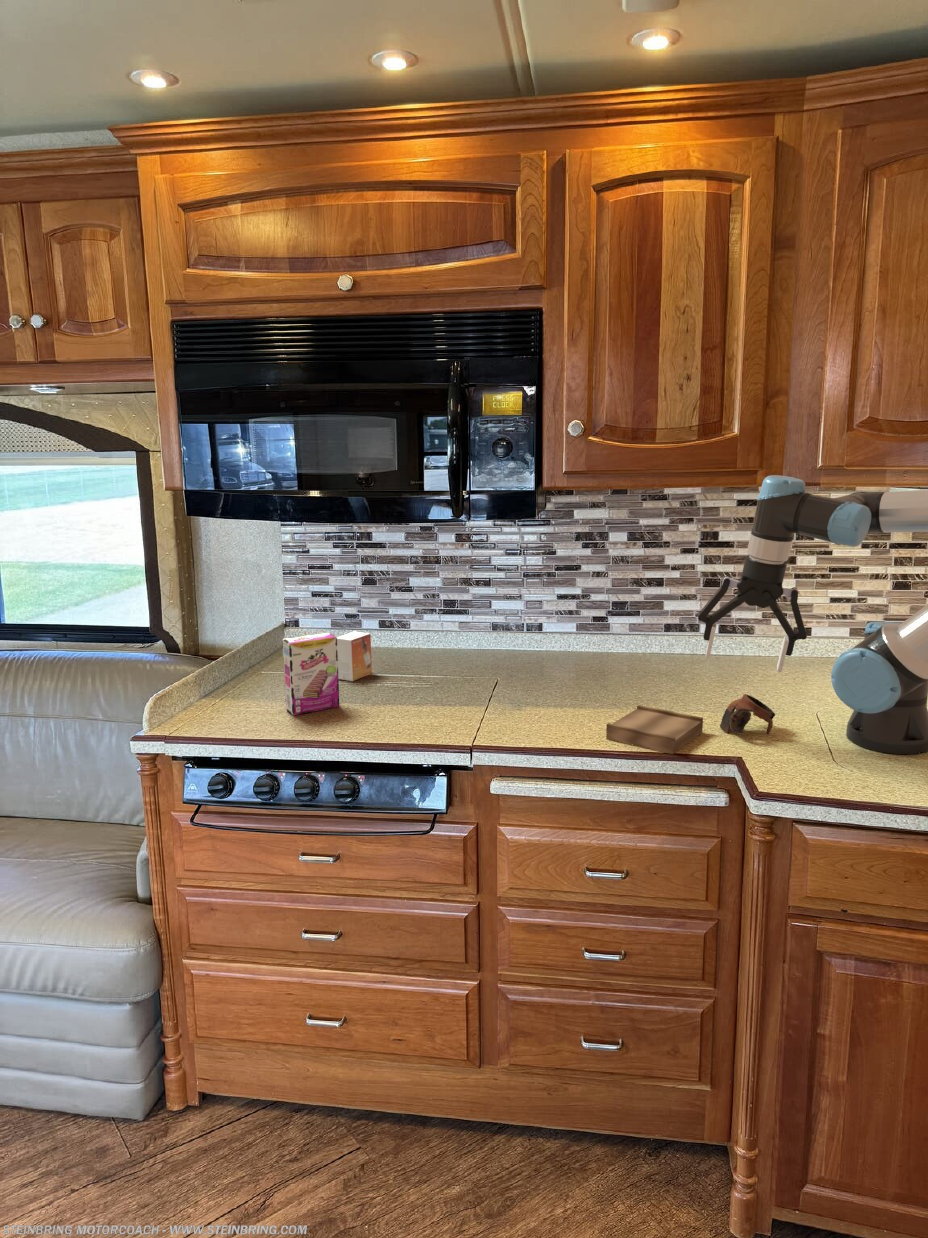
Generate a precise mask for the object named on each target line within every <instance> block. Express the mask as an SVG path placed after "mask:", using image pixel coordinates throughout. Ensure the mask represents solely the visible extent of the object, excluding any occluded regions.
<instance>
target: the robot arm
mask: <svg viewBox="0 0 928 1238" xmlns="http://www.w3.org/2000/svg"><path fill="white" fill-rule="evenodd" d="M756 500H757V503H756V506H755V507H756V508H755V513H754V518H753V523H752V528H751V532H750V536H749V541H748V545H747V550H746V554H747V556H745V558H744V564H743V566H742V567H743V569H742V571H741V572H742V573H741V576H740V578H739V579H738V580H737V579H735V578H731V576H729V575H725V576H724V577H723V579H722V582H721V585H720V586H719V588H718V589H717V590H716V591H715V593H714V594H713V595H712V596H711V598H710V599H709V600H708V601H707V602H706V604H704V606H703V607H702V608H701V610H700V611H699V612H698V613H697V615H698V616H697V620H698V621H701V622H703V623H704V624H705V628H704V632H703V640H704V641H708V642H707V647H706V651H705V659H710V658H711V654H712V648H713V644H714V639H715V634H716V629H717V622H718V621H719V620H721V619H723V618H724V617H725V616H727V615H728V614H729V613H731V612H732V611H733V610H735V609H736V608H737V607H740V606H741V605H743V604H744V603H745V604H746V605H747V606H749V607H750V606H751V607H753V606H754V607H755V606H756V607H758V608H762V609H765V608H768V607H770V610H771V611H772V612H773V614H774V615H775V617H776V619H777V621H779V622H778V623H779V624H780V626H781V627H782V629H783V631H784V632H785V634H786V635H784V636H783V639H782V644H781V647H780V652H779V657H778V661H777V664H776V671H777V672H778V673H782V672H783V669H784V668H783V667H784V663H785V659H786V656H789V657H791V656H792V655H793V651H794V647H795V643H796V641H798V640H804V641H805V640H806V639H807V637H808V636H807V632H806V628H805V625H804V622H803V617H802V614H801V610H800V608H799V603H798V600H799V591H798V589H797V587H794V586H793V587H791V588H787V587H786V588H784V586H783V582H784V578H785V573H786V570H787V563H786V562H787V561H788V560H789V557H790V552H791V549H792V544H793V540H794V534H797V535H798V536H799V535H800V536H805V537H809V538H813V539H817V540H820V541H825V542H828V543H832V544H834V545H837V546H842V545H843V546H848V547H851V548H852V547H853V548H854V547H858V546H860V545H861V544H862V542H863V541H865V539H866V537H867V535H868V534H884V533H885V534H886V533H928V489H921V490H901V491H896V490H895V491H884V492H880V491H879V492H868V491H855V492H852V493H850V494H847V495H843V496H839V497H838V496H837V497H827V496H824V495H823V496H822V495H817V494H812V493H809V492H806V483H805V480H803V479H801V478H797V477H792V476H788V475H779V474H777V475H776V474H773V475H772V474H771V475H768V476H766V477H764V479H763V481H762V484H761V488H760V490H759V494H758V497H757V498H756ZM735 587H736V588H737V590H738V592H739V593H738V594H736V595H735V596H734V597H733V598H731V599H730V600H729V601H728V602H726V603H724V605H722V606H721V607H720V608H718V609H717V610H715V611H714V612H713V613H712V614H710V613H711V612H712V611H713V609H714V608H715V607H716V605H718V603H719V602H720V601H721V600H722V598H723V597H724V596H725V595H726V593H727V592H728V590H729V591H731V590H732V589H733V588H735ZM783 595H784V596H785V599H786V600H787V601H790V607H791V610H792V613H793V617H794V621H795V624H796V628H797V630H794V628H793V627H792V625H791V624H790V622H789V621H788V619H787V617H786V615H785V614H784V612H783V610H782V609H781V606H780V605H779V604H778V602H777V600H778V599H779V598H781V597H782V596H783ZM709 614H710V615H709ZM863 636H864V639H863V640H861V641H860V642H859V643H858V644H856V645H855V646H854V647H852V648H851V649H848V650H846V651H844V652H842V653H841V654H840V655H839V656H838V658H837V659H836V661H835V662H834V663H833V665H832V668H831V686H832V688H833V691H834V693H835V694H836V696H837V698H838V699H839V700H840V701H841V702H842V703H843V704H844V705H845V706H846V707H848V708H850V709H852V710H853V711H852V713H851V715H850V717H849V719H848V721H847V724H846V733H845V735H846V738H847V739H848V740H849V741H850V742H852V743H854V744H855V745H857V746H859V747H862V748H866V749H868V750H871V751H876V752H880V753H886V754H896V755H915V754H914V753H918V754H920V753H919V752H923V753H927V752H928V603H927V604H926V605H924V606H923V607H921V608H920V609H919V610H918V611H916V612H915V613H914V614H912V615H911V616H909V617H908V618H907V619H906V620H904V621H903V622H895V621H894V622H893V621H871V622H868V623H867V624H866V626H865V630H864V631H863ZM926 751H927V752H926Z"/></svg>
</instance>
